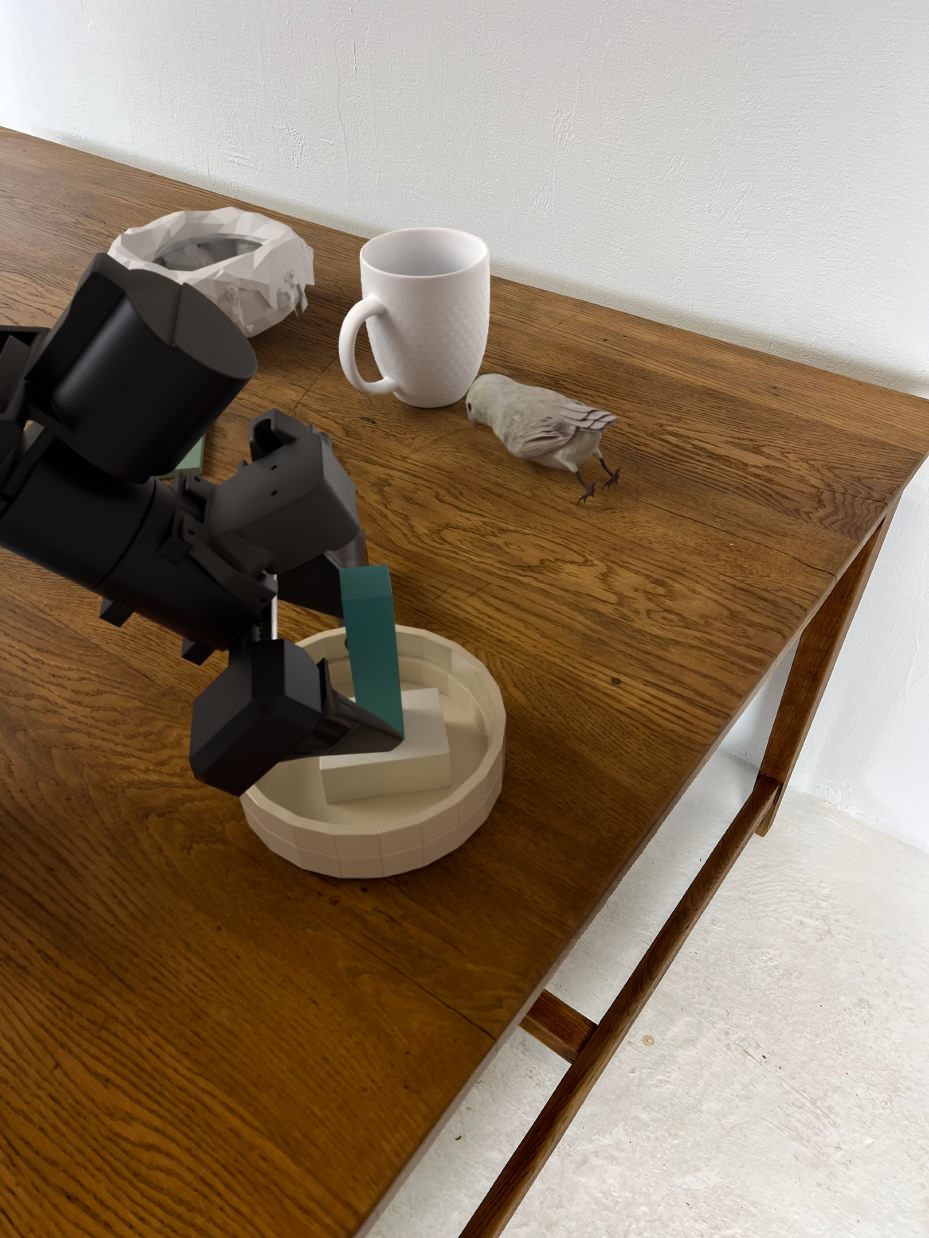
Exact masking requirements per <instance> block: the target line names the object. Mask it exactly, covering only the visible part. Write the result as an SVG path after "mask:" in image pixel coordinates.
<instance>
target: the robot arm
mask: <svg viewBox="0 0 929 1238" xmlns="http://www.w3.org/2000/svg"><path fill="white" fill-rule="evenodd" d="M107 253H108V252H105V251H103V252H97V253H96V254H95V255H94V256H93V258H92V259H91V261H90V262H89V264H88V265H87V266H86V268H85V270H83V273H82V274H81V275H80V278H79V281H78V283H77V286H76V288H75V292H74V295H73V297H72V298H71V300H70V302H69V303H68V305H67V306H66V307H65V309H64V310H63V312H62V313H61V314H60V316H59V317H58V319H57V320H56V321H55V323H54V325H52V327H51V328H50V327H47V326H33V325H29V326H28V325H13V324H12V325H11V324H10V325H8V324H0V547H1V548H3V549H4V550H7V551H9V552H11V553H13V554H15V555H16V556H19V557H21V558H23V559H25V560H27V561H28V562H31V563H33V564H35V565H37V566H39V567H41V568H43V569H45V570H48V571H49V572H51V573H53V574H56V575H57V576H60V577H61V578H63V579H66V580H67V581H69V582H72V583H73V584H75V585H77V586H80V587H82V588H84V589H86V590H87V591H89V592H90V593H93V594H95V595H97V596H99V597H101V598H102V599H101V600H102V601H101V605H100V611H99V615H98V619H99V620H102V621H104V622H107V623H108V624H111V625H112V626H115V627H117V628H119V629H120V628H121V627H122V626H123V625H124V624H125V623H126V622H127V621H128V620H129V619H130V618H131V616H132V615H133V614H136V615H137V616H140V617H142V618H144V619H146V620H148V621H150V622H152V623H154V624H157V625H158V626H160V627H162V628H165V629H167V630H168V631H170V632H173V633H174V634H177V635H179V636H181V637H182V645H181V653H180V654H181V655H180V658H182V659H183V660H186V661H188V662H189V663H190V662H191V663H192V664H194V665H196V666H198V667H201V666H202V665H203V664H204V663H205V662H206V661H207V660H208V659H209V658H210V657H211V656H212V655H213V654H214V653H215V652H216V651H219V652H221V653H225V652H226V651H228V659H227V667H225V668H224V669H223V671H222V672H221V673H219V675H218V676H216V678H215V679H213V681H212V682H210V683H209V685H208V686H207V687H205V689H203V691H202V692H200V694H198V695H197V696H196V698H194V699H193V703H192V715H191V724H190V725H191V726H190V738H189V752H188V762H189V766H190V769H191V771H192V774H193V777H194V780H196V781H198V782H200V783H203V784H205V785H207V786H210V787H212V788H215V789H217V790H219V791H221V792H225V793H227V794H229V795H232V796H234V797H237V798H239V797H240V796H241V795H243V794H244V793H245V792H246V791H247V790H248V789H249V788H250V787H252V786H253V785H254V784H255V783H256V782H257V781H258V780H259V779H261V778H262V777H263V776H264V775H265V774H266V773H267V772H268V771H270V770H271V769H272V768H273V767H274V766H275V765H276V764H277V763H280V762H286V761H291V760H297V759H302V758H309V757H320V756H333V755H349V754H365V753H380V752H390V751H392V750H394V749H395V748H396V747H397V746H398V745H400V744H401V743H402V742H403V737H402V734H401V733H400V732H399V731H397V730H396V729H395V728H393V727H392V726H391V725H389V724H388V723H387V722H385V721H384V720H382V719H381V718H379V717H378V716H376V715H374V714H373V713H371V712H370V711H368V710H366V709H365V708H363V707H361V706H360V705H358V704H357V703H355V702H353V701H352V700H350V699H348V698H347V697H345V696H344V695H342V694H340V693H339V692H337V691H336V690H334V689H333V687H332V685H331V679H330V673H329V667H328V662H327V659H326V658H325V657H324V658H322V659H321V660H320V661H319V662H318V663H317V664H315V663H314V662H313V660H312V659H311V658H310V656H309V655H308V654H307V652H306V651H305V650H304V649H303V648H302V647H300V646H298V645H296V644H295V643H294V642H292V641H290V640H288V639H287V638H285V637H282V638H278V601H282V602H285V603H288V604H291V605H294V606H297V607H301V608H304V609H308V610H310V611H314V612H317V613H320V614H323V615H327V616H330V617H334V618H337V619H339V618H340V619H343V620H344V615H343V607H342V599H341V588H340V577H339V569H347V567H346V566H345V564H344V563H343V562H342V561H341V560H340V559H339V557H338V556H337V555H336V554H335V552H334V551H336V550H338V549H340V548H342V547H344V546H346V545H347V544H349V543H350V542H351V541H352V540H353V539H354V538H355V537H356V535H357V534H358V532H359V529H361V518H360V516H359V513H358V508H357V499H356V494H357V486H356V484H355V483H354V481H353V480H352V478H351V477H350V476H349V474H348V473H347V471H346V470H345V469H344V467H343V466H342V464H341V463H340V461H339V460H338V459H337V458H336V456H335V455H334V450H333V439H332V437H331V434H329V433H328V432H325V431H318V430H317V429H316V427H315V426H314V424H313V423H309V424H306V423H304V422H302V421H300V420H299V419H296V418H295V417H293V416H291V415H289V414H287V413H286V412H283V411H282V410H280V409H278V408H277V407H273V408H271V409H269V410H267V411H265V412H263V413H261V414H259V415H257V416H256V417H254V418H252V419H250V421H249V422H248V423H249V424H248V445H249V453H250V459H251V462H250V463H248V462H247V460H246V459H244V458H243V459H241V460H240V461H238V462H237V463H236V473H235V474H234V475H233V476H231V477H229V478H228V479H226V480H224V481H223V482H221V483H220V484H217V483H213V482H211V481H209V480H207V479H205V478H204V477H203V476H202V475H197V474H195V473H190V474H189V475H187V474H185V473H183V472H182V471H180V472H179V473H178V474H177V475H176V476H175V477H173V478H172V480H171V481H170V482H169V483H168V484H167V483H165V482H164V481H163V480H161V479H157V478H155V477H154V476H162V475H167V474H169V473H170V472H172V471H174V470H175V468H176V467H177V466H178V465H179V464H180V463H181V461H182V460H183V459H184V458H185V457H186V455H187V454H188V453H189V452H190V451H191V449H192V448H193V447H194V446H195V445H196V444H197V442H198V441H199V440H200V439H201V438H202V436H203V435H204V434H205V433H207V432H208V431H209V430H210V428H211V427H212V426H213V424H215V422H216V421H217V420H218V418H220V417H221V415H222V414H223V413H224V412H225V410H226V409H227V408H228V407H229V406H230V405H231V404H232V402H234V400H235V399H236V397H237V396H238V395H239V394H240V393H241V392H242V391H243V389H244V388H245V387H246V386H247V384H249V382H250V381H251V380H252V379H253V377H254V376H255V375H256V373H257V371H258V370H259V369H258V368H259V364H258V359H257V356H256V353H255V351H254V349H253V346H252V345H251V344H250V342H249V340H248V338H246V337H245V336H244V334H243V333H242V332H241V330H240V329H239V328H238V327H237V326H236V324H235V323H234V322H233V321H232V320H231V319H230V318H229V316H227V315H226V314H225V313H224V312H223V311H222V310H221V309H220V308H219V307H218V306H217V305H216V304H215V303H214V302H212V301H211V300H210V299H209V298H207V297H206V296H205V295H204V294H203V293H201V292H200V291H199V290H197V289H196V288H194V287H193V286H191V285H190V284H188V283H186V282H184V283H183V284H182V285H181V284H179V283H177V282H176V281H174V280H172V279H170V278H168V277H166V276H164V275H161V274H159V273H156V272H154V271H149V270H145V269H131V270H129V269H128V268H126V267H125V266H124V265H122V264H121V263H119V262H118V261H117V260H115V259H114V258H112V257H111V256H110V255H108V254H107ZM28 421H32V422H31V424H30V425H29V426H28V427H26V426H27V423H28ZM25 428H26V429H25ZM205 435H206V434H205Z"/></svg>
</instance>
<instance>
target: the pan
mask: <svg viewBox="0 0 929 1238" xmlns="http://www.w3.org/2000/svg"><path fill="white" fill-rule="evenodd" d="M395 630H396V641H397V652H398V664H399V675H400V687H401V692H402V691H411V690H419V689H427V688H435V687H438V690H439V696H440V701H441V707H442V712H443V717H444V723H445V728H446V734H447V739H448V745H449V750H450V765H451V787H448V788H440V789H433V790H425V791H418V792H410V793H403V794H395V795H388V796H380V797H373V798H365V799H358V800H350V801H343V802H335V803H328V804H327V803H326V799H325V793H324V788H323V783H322V777H321V772H320V759H319V757H309V758H302V759H297V760H291V761H286V762H280V763H277V764H276V765H275V766H274V767H273V768H272V769H271V770H270V771H268V772H267V773H266V774H265V775H264V776H263V777H262V778H261V779H259V780H258V781H257V782H256V783H255V784H254V785H253V786H252V787H250V788H249V789H248V790H247V791H246V792H245V793H244V794H243V795H241V796H240V797H238V800H239V802H240V806H241V808H242V811H243V814H244V817H245V819H246V823H247V824H248V826H249V827H250V829H252V831H253V832H254V833H255V834H256V835H257V837H258V838H259V839H260V840H261V842H262V843H264V844H265V846H266V847H267V848H268V850H270V851H271V852H273V853H275V854H277V855H278V856H280V857H281V858H283V859H285V860H287V861H288V862H290V863H291V864H293V865H296V866H297V867H299V868H300V869H302V870H305V871H310V872H314V873H317V874H321V875H325V876H330V877H333V878H336V879H337V878H338V879H378V878H380V879H381V878H387V877H390V876H391V877H392V876H395V875H400V874H404V873H408V872H411V871H414V870H417V869H421V868H424V867H426V866H428V865H431V864H432V863H433V862H435V861H437V860H439V859H441V858H442V857H445V856H446V855H448V854H450V853H451V852H453V851H455V850H457V849H459V847H461V846H462V845H463V844H464V843H465V842H466V841H467V840H468V839H469V838H470V837H471V836H472V835H473V834H474V833H475V832H476V831H477V830H478V829H479V828H480V827H481V826H482V825H483V824H484V823H485V822H486V821H487V819H488V817H489V815H490V813H491V812H492V810H493V807H494V805H495V803H496V802H497V800H498V798H499V796H500V794H501V792H502V789H503V780H504V773H505V765H506V743H507V742H506V741H507V713H506V709H505V705H504V701H503V697H502V693H501V689H500V687H499V685H498V683H497V682H496V680H495V679H494V677H493V676H492V675H491V673H490V672H489V670H488V669H487V667H486V666H485V664H484V663H483V662H482V661H481V660H480V659H478V658H477V657H476V656H475V655H473V654H472V653H471V652H469V651H468V650H466V648H464V647H463V646H462V645H461V644H459V643H457V642H456V641H453V640H451V639H449V638H446V637H444V636H441V635H439V634H437V633H434V632H432V631H430V630H427V629H424V628H418V627H412V626H406V625H402V624H397V623H395ZM345 639H346V629H345V627H342V628H339V627H338V628H333V629H329V630H323V631H321V632H318V633H316V634H314V635H311V636H309V637H306V638H304V639H301V640H300V641H297V642H295V643H294V644H296V645H298V646H300V647H302V648H303V649H304V650H305V651H306V652H307V654H308V655H309V656H310V658H311V659H312V660H313V662H314V663H315V664H317V663H318V662H319V661H320V660H321V659H322V658H324V657H325V658H326V659H327V662H328V667H329V673H330V679H331V685H332V687H333V689H334V690H336V691H337V692H339V693H340V694H342V695H344V696H345V697H347V698H353V697H355V695H354V688H353V680H352V673H351V666H350V658H349V651H348V650H347V649H346V647H345V645H344V642H345Z"/></svg>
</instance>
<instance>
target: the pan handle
mask: <svg viewBox="0 0 929 1238" xmlns="http://www.w3.org/2000/svg"><path fill="white" fill-rule="evenodd" d="M334 552H335V554H336V555H337V556H338V557H339V559H340V560H341V561H342V562H343V563H344V564H345V566H346V567H347V568H356V567H366V566H370V563H369V554H368V545H367V537H366V530H365V529H364V528H362V529H361V528H360V529H359V532H358V534H357V535H356V537H355V538H354V539H353V540H352V541H351V542H350V543H349V544H347V545H346V546H344V547H342V548H340V549H338V550H336V551H334ZM342 627H345V622H344V620H343V619H340V618H338V628H342ZM344 645H345V647H346V649H347V650H348V644H347V637H346V639H345V642H344Z"/></svg>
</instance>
